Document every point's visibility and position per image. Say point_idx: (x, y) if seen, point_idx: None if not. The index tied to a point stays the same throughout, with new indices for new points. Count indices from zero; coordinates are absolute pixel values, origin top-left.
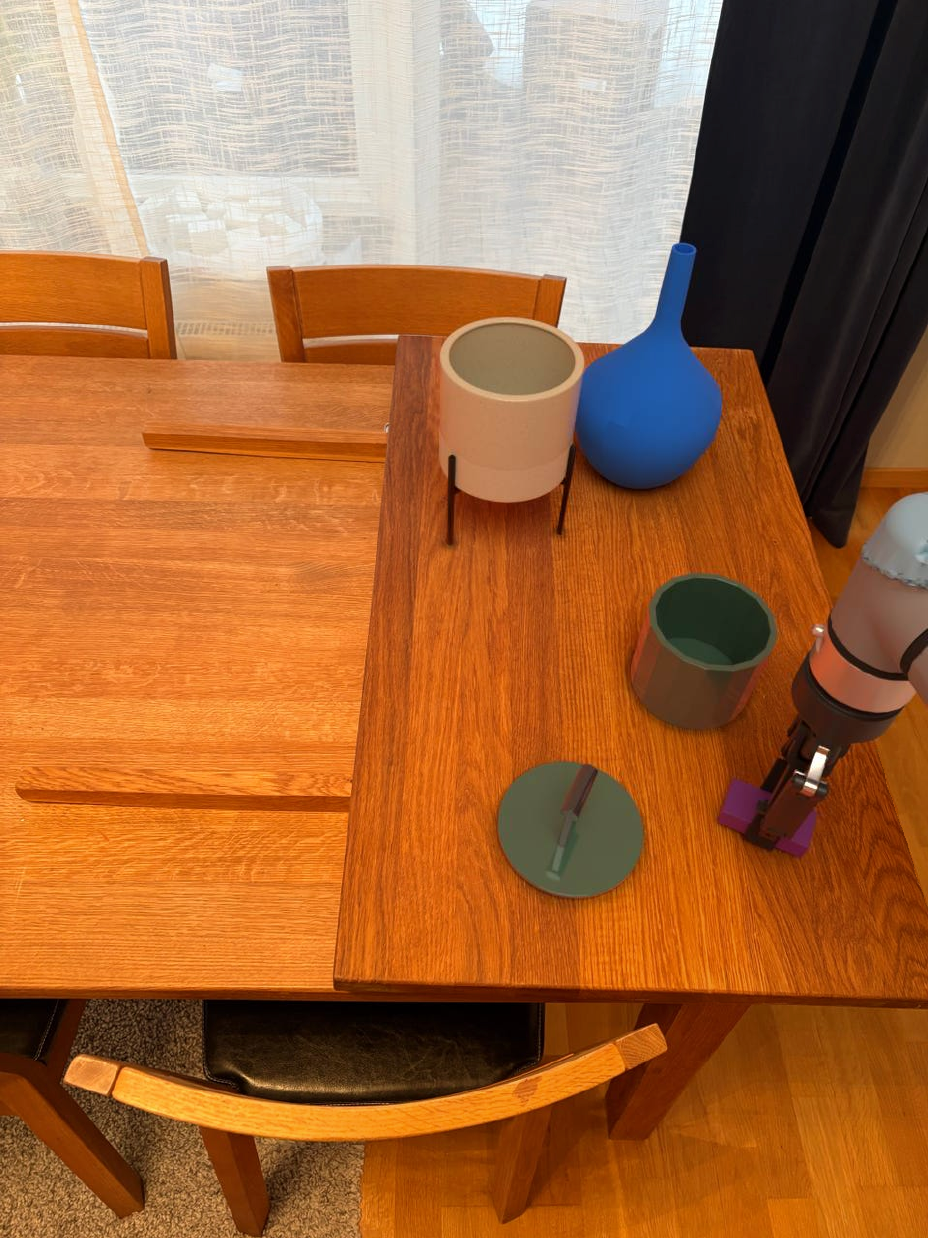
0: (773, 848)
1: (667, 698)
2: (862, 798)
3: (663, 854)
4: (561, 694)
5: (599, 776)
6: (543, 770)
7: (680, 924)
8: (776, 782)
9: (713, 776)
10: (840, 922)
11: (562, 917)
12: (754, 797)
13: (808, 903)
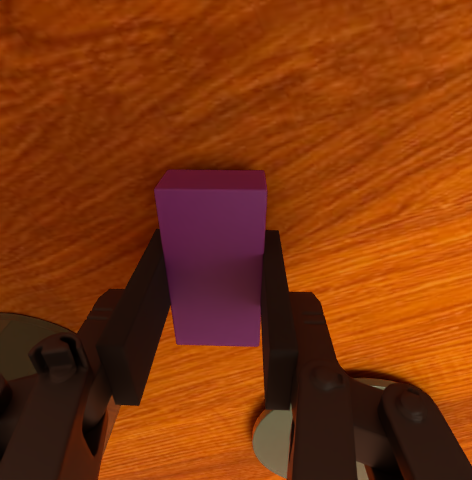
0: (279, 238)
1: (102, 454)
2: (8, 48)
3: (335, 347)
4: (166, 464)
5: (262, 437)
6: (283, 472)
7: (446, 307)
8: (157, 323)
9: (168, 321)
10: (378, 34)
11: (459, 409)
12: (198, 311)
13: (350, 121)
